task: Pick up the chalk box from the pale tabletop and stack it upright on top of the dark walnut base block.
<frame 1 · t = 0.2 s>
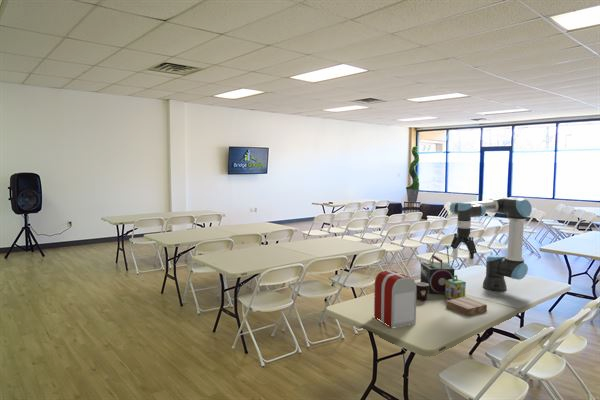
hand: (462, 261, 244), 28 cm above the table, fingers open, 13 cm apart
chalk box: (455, 298, 258), on the table
coffee mug: (418, 299, 257), on the table
boombox: (437, 290, 275), on the table
red white striped case: (394, 320, 222), on the table
walnut base: (466, 309, 239), on the table
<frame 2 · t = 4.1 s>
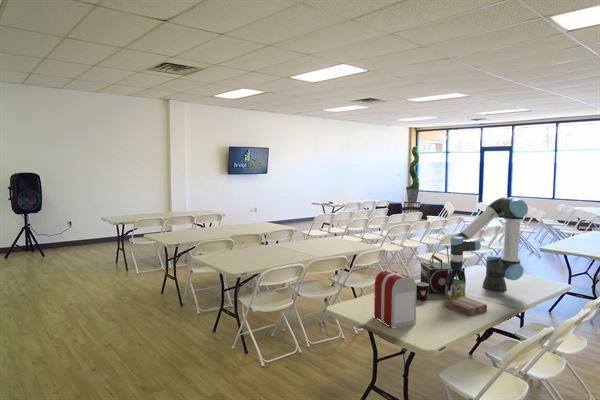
hand: (455, 294, 258), 3 cm above the table, fingers closed on chalk box, 9 cm apart
chalk box: (455, 298, 258), on the table, touching gripper
everything else where it was.
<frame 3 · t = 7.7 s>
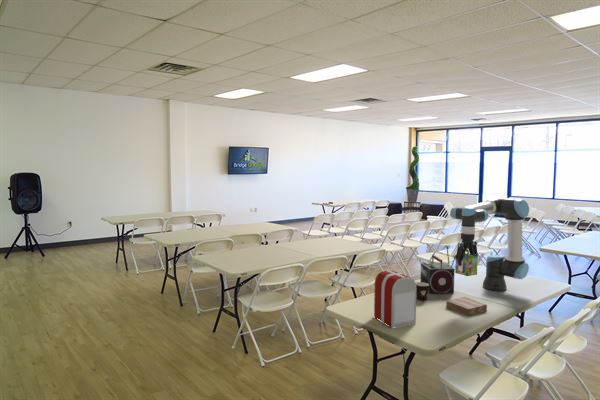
hand: (466, 269, 238), 24 cm above the table, fingers closed on chalk box, 9 cm apart
chalk box: (466, 274, 238), point 21 cm above the table, touching gripper
everything else where it was.
when the fingers open (8 cm above the table, at t = 11.7 s): chalk box drops 1 cm, resting on walnut base.
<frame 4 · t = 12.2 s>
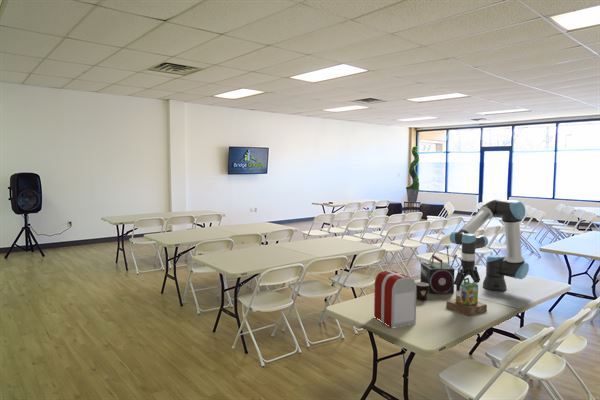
hand: (466, 294, 238), 9 cm above the table, fingers open, 13 cm apart
chalk box: (466, 302, 238), point 4 cm above the table, touching walnut base
everything else where it was.
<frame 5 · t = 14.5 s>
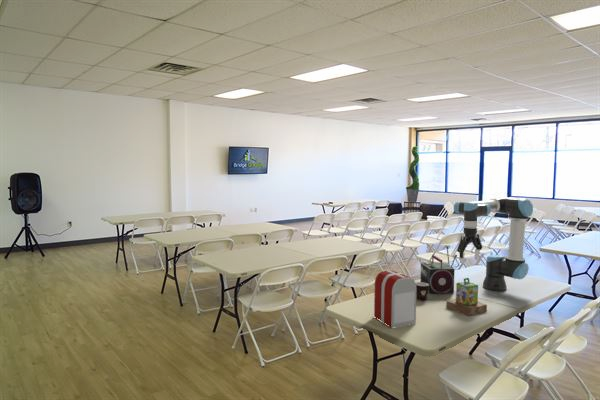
hand: (469, 261, 242), 28 cm above the table, fingers open, 13 cm apart
nothing on the table moved.
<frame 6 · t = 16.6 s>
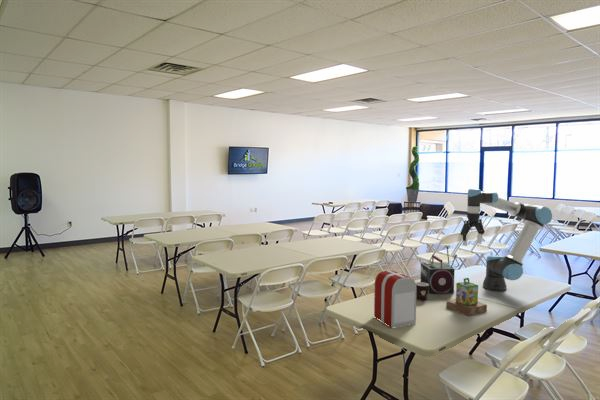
hand: (472, 244, 259), 35 cm above the table, fingers open, 13 cm apart
nothing on the table moved.
at the end: chalk box inside the target area on the walnut base (0.3 cm from its centre), point 3.8 cm above the walnut base's base; chalk box tilted 0°; the gripper is holding nothing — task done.
